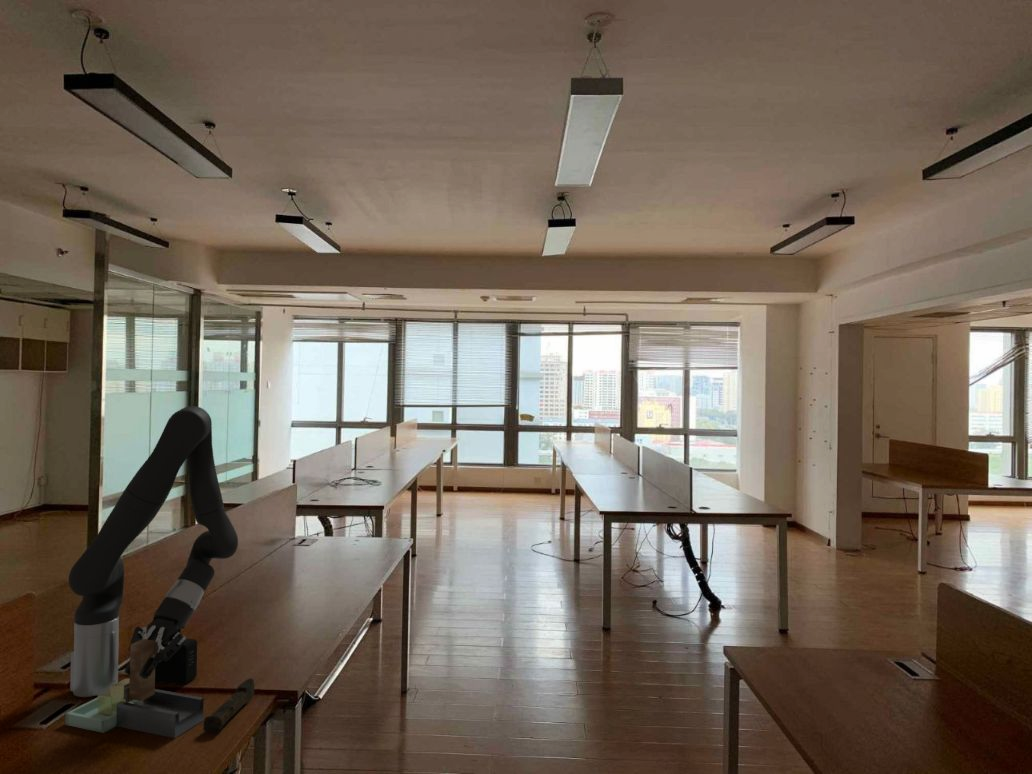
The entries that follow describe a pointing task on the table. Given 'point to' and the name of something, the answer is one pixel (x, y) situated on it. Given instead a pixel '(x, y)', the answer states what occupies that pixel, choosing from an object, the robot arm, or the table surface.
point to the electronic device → (179, 665)
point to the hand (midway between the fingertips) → (135, 675)
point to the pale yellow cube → (119, 691)
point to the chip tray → (91, 717)
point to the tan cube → (106, 704)
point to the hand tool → (229, 707)
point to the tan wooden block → (138, 658)
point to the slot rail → (161, 713)
